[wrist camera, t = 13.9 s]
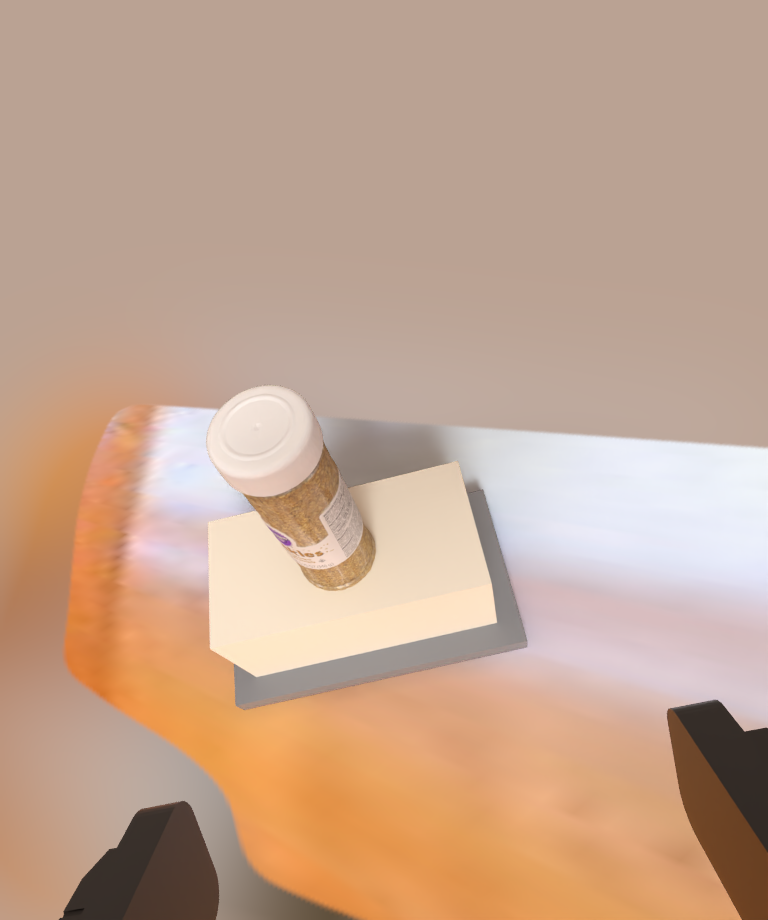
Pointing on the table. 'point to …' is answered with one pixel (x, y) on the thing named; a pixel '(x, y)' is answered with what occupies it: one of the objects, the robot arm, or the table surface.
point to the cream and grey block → (364, 594)
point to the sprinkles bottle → (292, 483)
